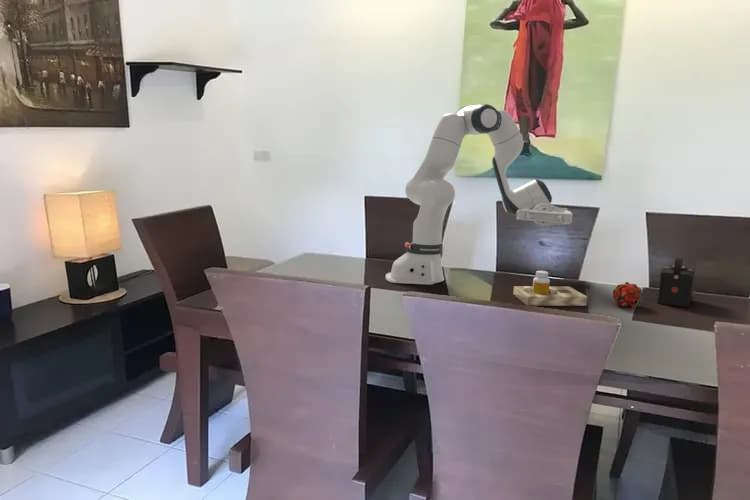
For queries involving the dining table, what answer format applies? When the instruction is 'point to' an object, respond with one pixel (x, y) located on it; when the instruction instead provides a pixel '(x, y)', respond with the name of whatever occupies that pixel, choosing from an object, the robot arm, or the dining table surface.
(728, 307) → the dining table surface
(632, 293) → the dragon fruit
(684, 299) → the camera
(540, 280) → the supplement bottle
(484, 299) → the dining table surface
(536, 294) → the holder block
